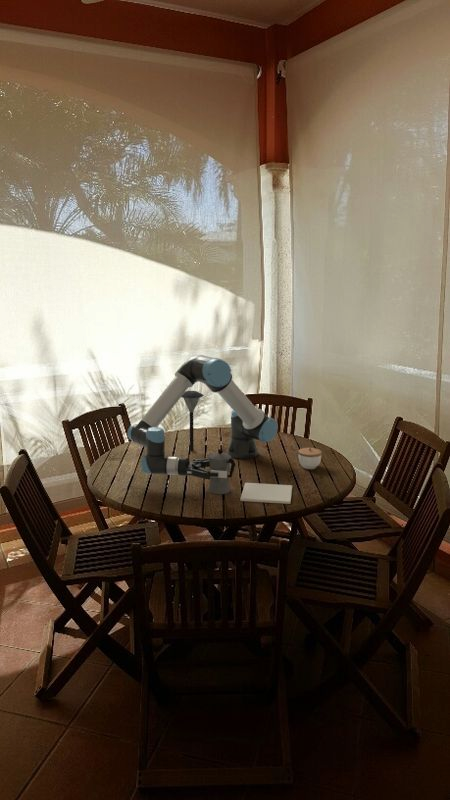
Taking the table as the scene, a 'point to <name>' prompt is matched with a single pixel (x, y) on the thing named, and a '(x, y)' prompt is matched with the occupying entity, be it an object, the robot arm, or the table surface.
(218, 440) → the table surface
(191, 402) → the solar garden light
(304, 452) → the lidded jar
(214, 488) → the coffeepot
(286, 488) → the placemat
